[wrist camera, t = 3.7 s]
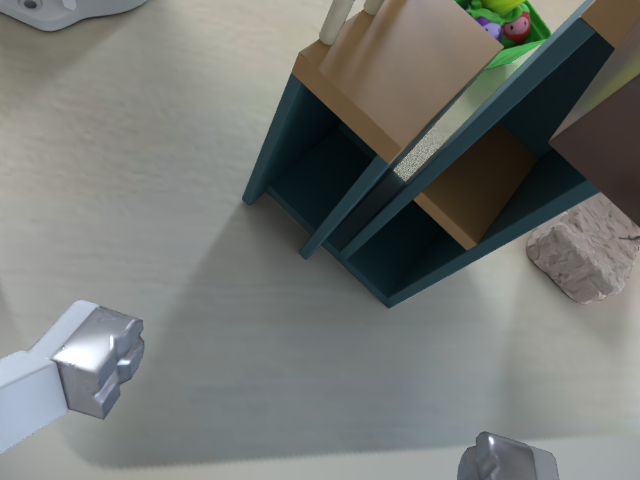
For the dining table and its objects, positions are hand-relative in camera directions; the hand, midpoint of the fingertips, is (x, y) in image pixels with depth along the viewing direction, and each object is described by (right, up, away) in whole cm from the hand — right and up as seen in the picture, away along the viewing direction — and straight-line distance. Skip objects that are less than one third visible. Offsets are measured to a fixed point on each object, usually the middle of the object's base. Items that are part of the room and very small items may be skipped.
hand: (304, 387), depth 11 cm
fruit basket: (+17, +25, +43) cm, 53 cm away
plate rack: (+4, +6, +29) cm, 30 cm away
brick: (+27, +5, +38) cm, 47 cm away
